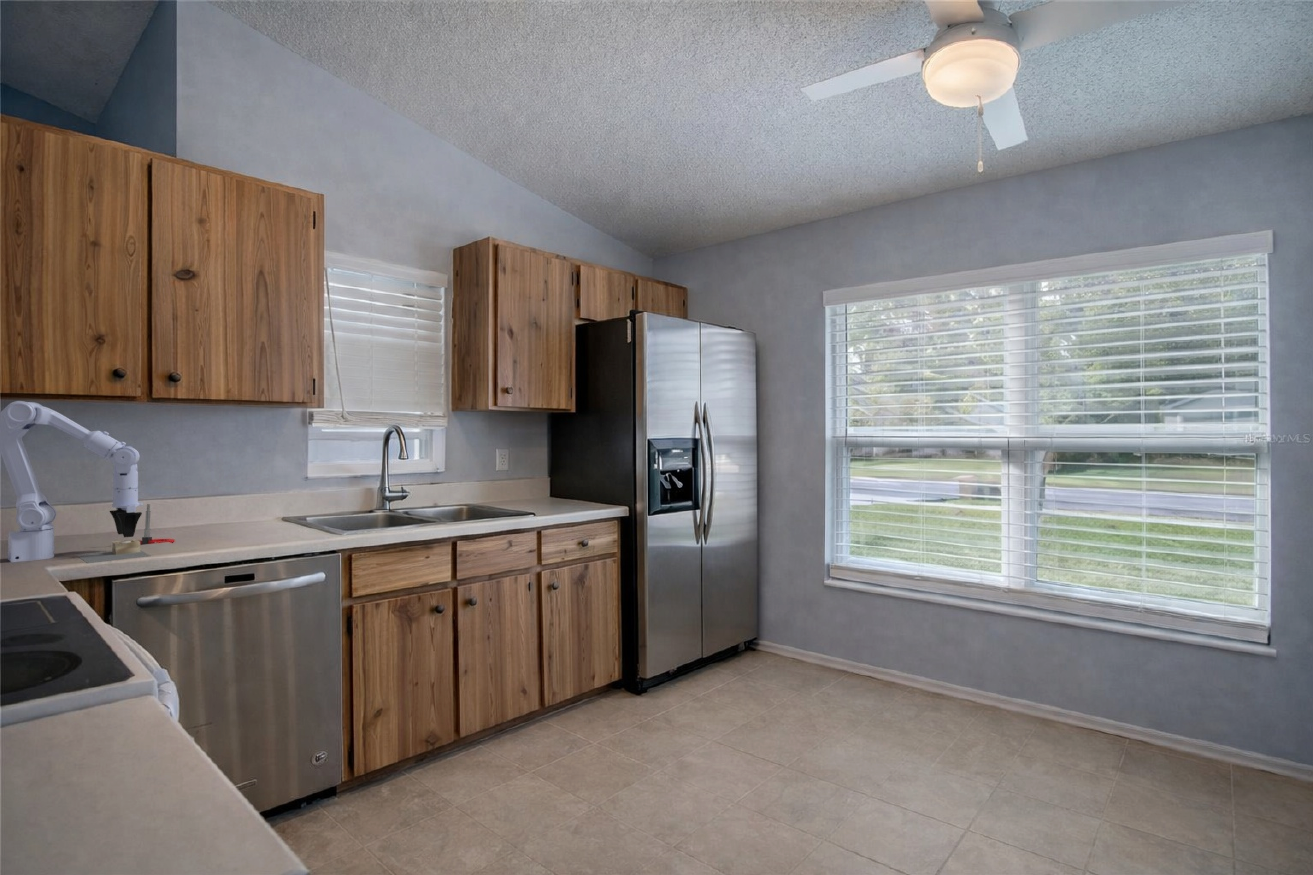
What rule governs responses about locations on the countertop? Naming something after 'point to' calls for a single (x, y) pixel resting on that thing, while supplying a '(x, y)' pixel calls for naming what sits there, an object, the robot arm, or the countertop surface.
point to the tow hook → (147, 538)
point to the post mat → (110, 556)
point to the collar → (125, 547)
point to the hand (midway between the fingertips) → (125, 535)
